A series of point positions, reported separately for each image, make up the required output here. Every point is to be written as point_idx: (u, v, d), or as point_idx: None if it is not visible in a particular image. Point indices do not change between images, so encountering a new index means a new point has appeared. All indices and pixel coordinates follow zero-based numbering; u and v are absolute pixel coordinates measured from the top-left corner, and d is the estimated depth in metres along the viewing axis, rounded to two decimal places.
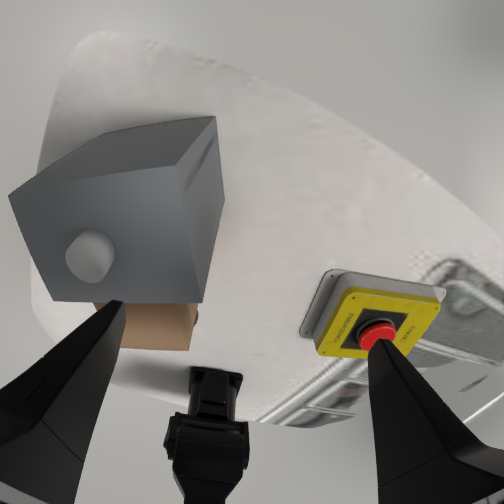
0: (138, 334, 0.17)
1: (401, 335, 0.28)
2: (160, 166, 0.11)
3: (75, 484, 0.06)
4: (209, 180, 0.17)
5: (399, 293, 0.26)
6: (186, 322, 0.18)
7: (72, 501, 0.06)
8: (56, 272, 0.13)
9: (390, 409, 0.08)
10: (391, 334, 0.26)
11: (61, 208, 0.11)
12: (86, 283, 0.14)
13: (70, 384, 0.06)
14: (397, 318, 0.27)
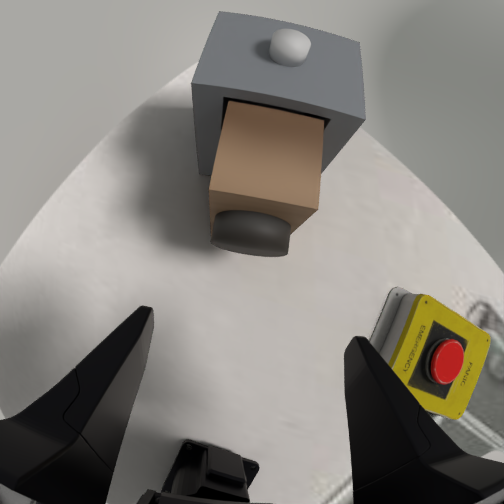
0: (261, 169, 0.14)
1: (462, 375, 0.21)
2: (350, 40, 0.15)
3: (105, 494, 0.06)
4: None
5: None
6: None
7: None
8: (225, 59, 0.14)
9: (364, 410, 0.08)
10: (460, 355, 0.20)
11: (270, 29, 0.14)
12: (256, 73, 0.14)
13: (106, 395, 0.06)
14: None
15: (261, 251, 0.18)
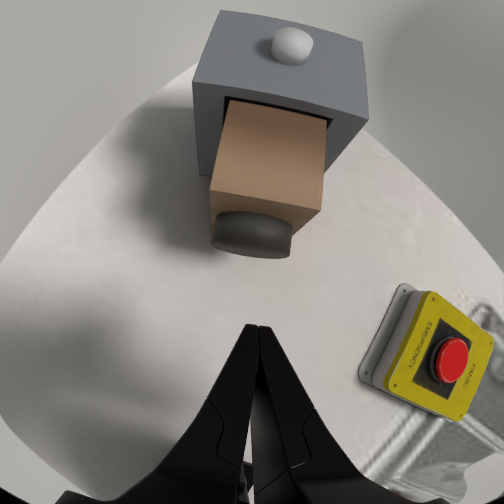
0: (262, 169, 0.14)
1: (465, 376, 0.21)
2: (352, 40, 0.15)
3: None
4: None
5: None
6: None
7: None
8: (227, 58, 0.13)
9: (258, 407, 0.08)
10: (465, 355, 0.20)
11: (272, 28, 0.14)
12: (258, 72, 0.13)
13: None
14: None
15: (262, 253, 0.18)
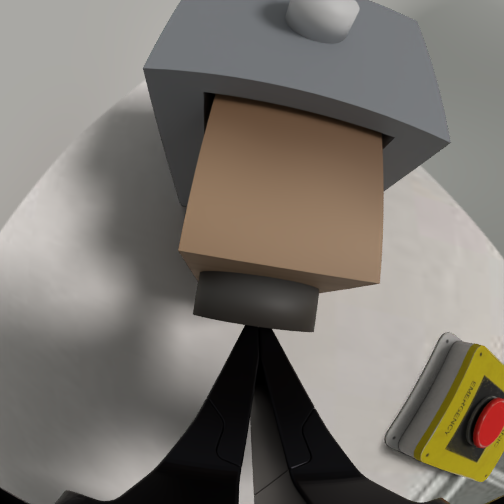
0: (278, 207, 0.07)
1: (497, 435, 0.15)
2: None
3: None
4: None
5: None
6: None
7: None
8: (210, 27, 0.07)
9: (258, 407, 0.08)
10: None
11: None
12: (265, 49, 0.07)
13: None
14: None
15: None
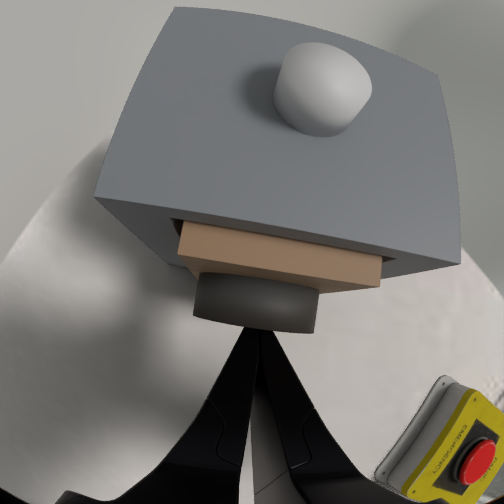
0: None
1: None
2: (422, 69, 0.08)
3: None
4: None
5: None
6: None
7: None
8: (173, 121, 0.06)
9: (258, 407, 0.08)
10: (492, 456, 0.13)
11: (276, 40, 0.07)
12: (243, 160, 0.06)
13: None
14: None
15: None
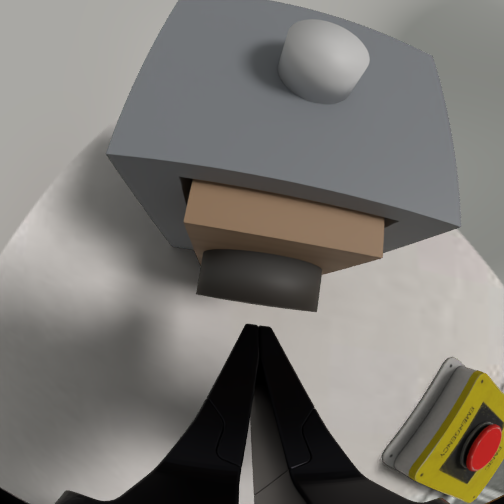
0: None
1: None
2: (418, 51, 0.08)
3: None
4: None
5: None
6: None
7: None
8: (184, 88, 0.06)
9: (258, 407, 0.08)
10: (498, 442, 0.14)
11: (280, 20, 0.07)
12: (251, 121, 0.06)
13: None
14: None
15: (275, 306, 0.12)
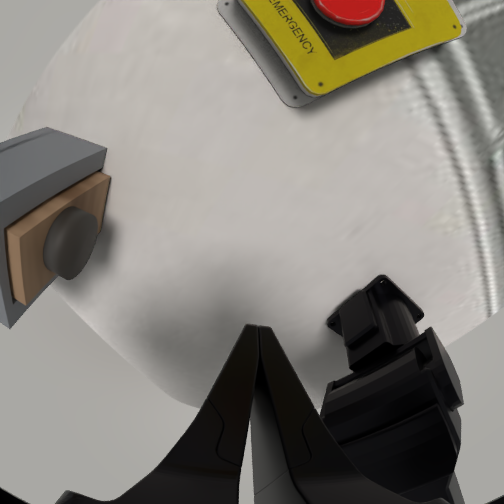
0: None
1: None
2: None
3: None
4: (26, 152, 0.15)
5: None
6: None
7: None
8: None
9: (258, 407, 0.08)
10: None
11: None
12: None
13: None
14: None
15: (83, 235, 0.17)
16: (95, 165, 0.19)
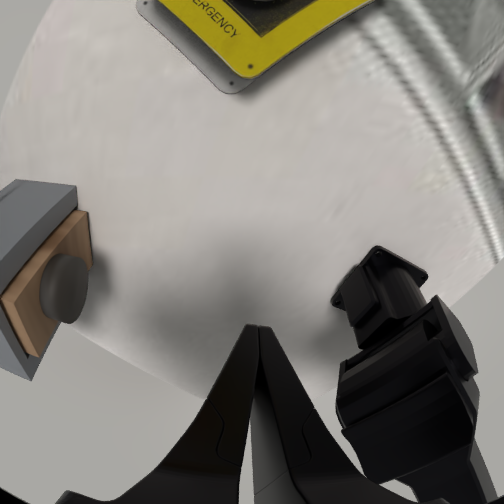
0: (12, 330, 0.14)
1: None
2: None
3: None
4: (0, 214, 0.15)
5: None
6: None
7: None
8: (3, 361, 0.14)
9: (258, 407, 0.08)
10: None
11: None
12: (1, 349, 0.14)
13: None
14: None
15: (74, 279, 0.17)
16: (69, 206, 0.19)
